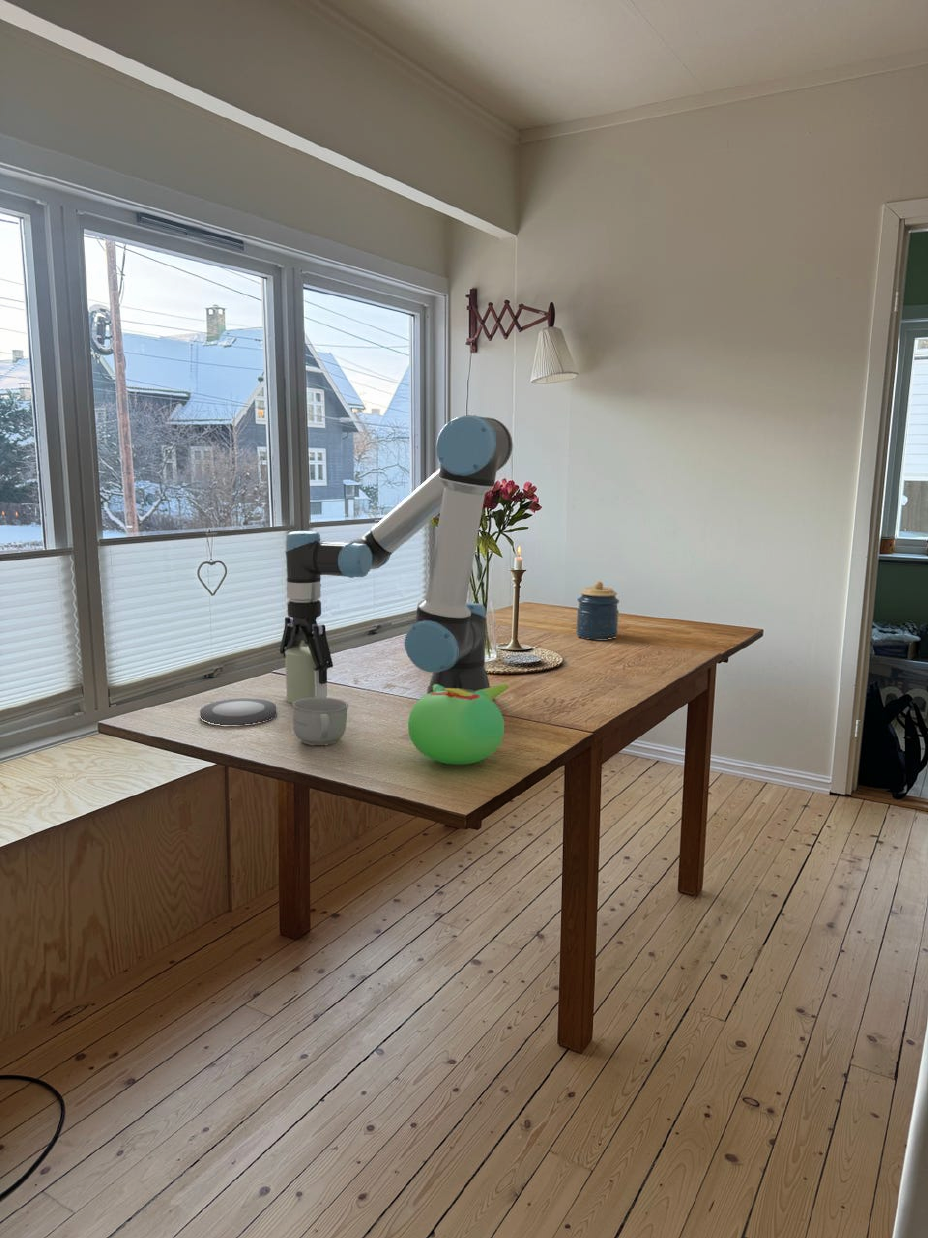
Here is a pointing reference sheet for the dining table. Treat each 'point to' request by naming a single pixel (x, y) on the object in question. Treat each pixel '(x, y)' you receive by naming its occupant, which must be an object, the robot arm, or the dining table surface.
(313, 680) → the can
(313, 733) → the teacup
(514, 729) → the dining table surface
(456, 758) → the green round lump
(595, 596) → the canister
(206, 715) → the pad
